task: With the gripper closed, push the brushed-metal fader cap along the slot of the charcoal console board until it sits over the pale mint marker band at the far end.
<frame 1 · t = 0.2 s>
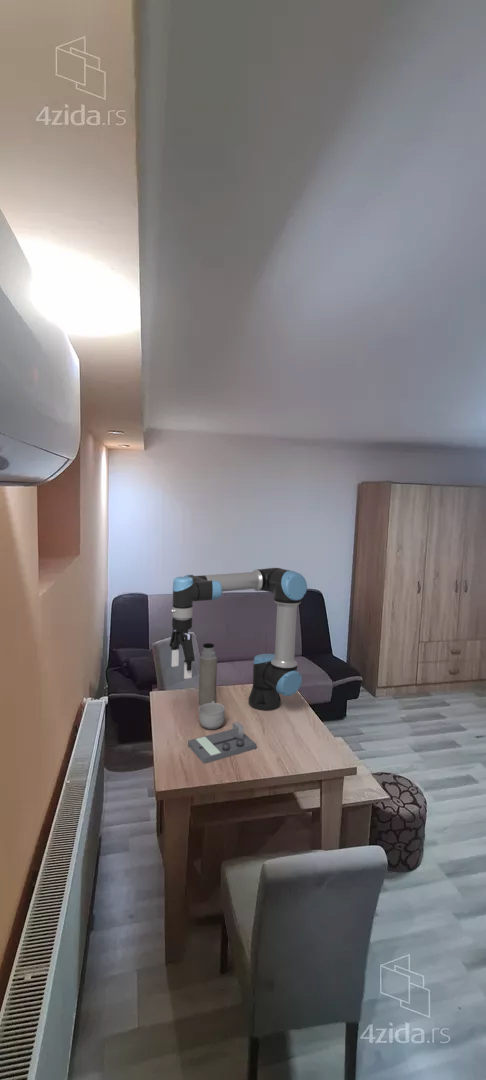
hand: (181, 672, 177), 28 cm above the table, tool pointing down, fingers open, 13 cm apart
fader cap: (238, 730, 180), point 5 cm above the table, slide at 0.0 cm
teacup: (212, 724, 194), on the table
thermos bottle: (207, 703, 214), on the table
console: (221, 747, 176), on the table
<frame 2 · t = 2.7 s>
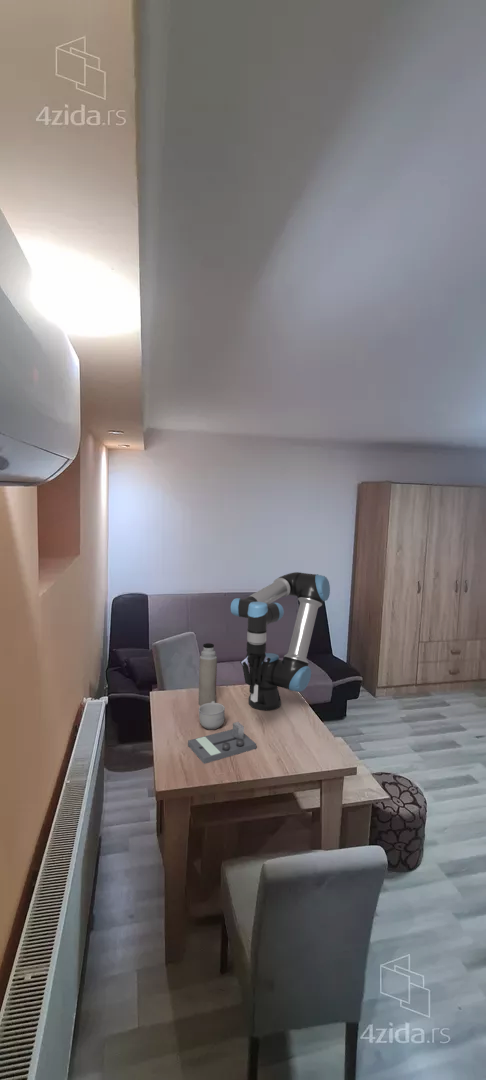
hand: (254, 700, 182), 16 cm above the table, tool pointing down, fingers closed
nothing on the table moved.
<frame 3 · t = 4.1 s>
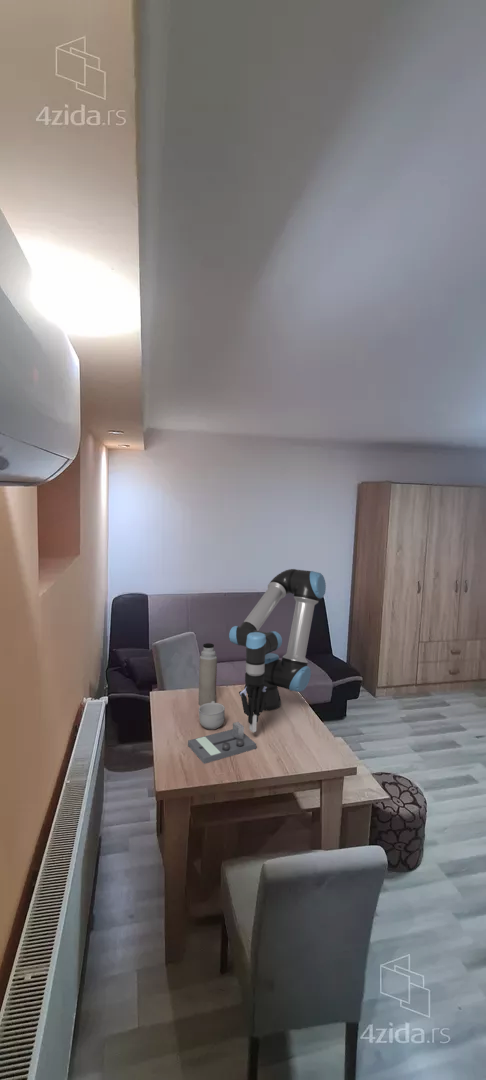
hand: (252, 730, 183), 3 cm above the table, tool pointing down, fingers closed
nothing on the table moved.
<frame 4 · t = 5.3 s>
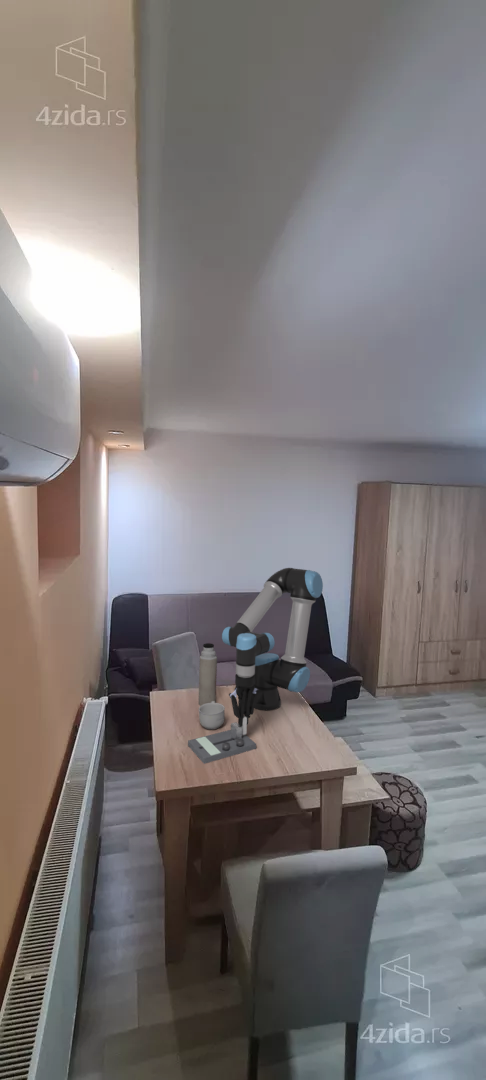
hand: (242, 732, 181), 4 cm above the table, tool pointing down, fingers closed
fader cap: (236, 731, 179), point 5 cm above the table, slide at 0.9 cm, touching gripper
everything else where it was.
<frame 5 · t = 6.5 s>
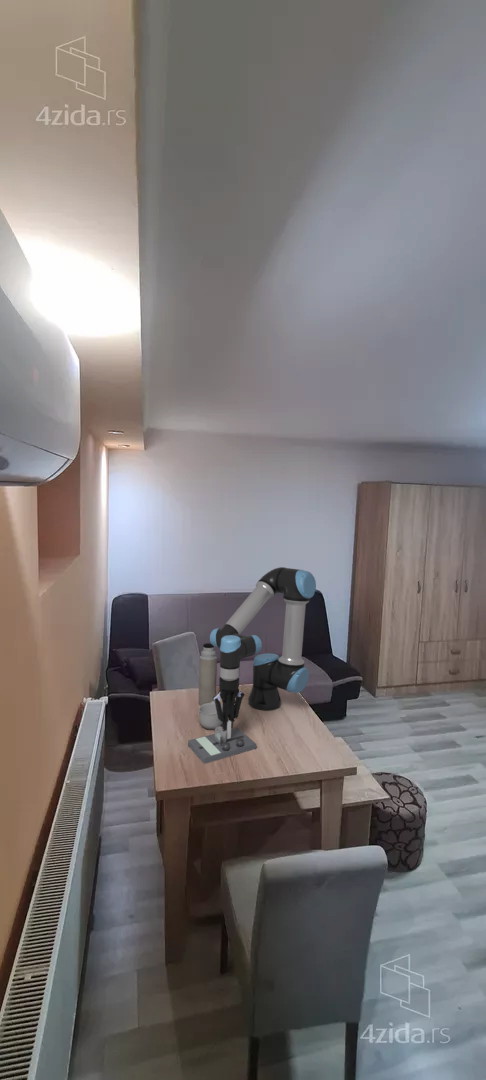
hand: (227, 736, 177), 4 cm above the table, tool pointing down, fingers closed
fader cap: (220, 735, 175), point 5 cm above the table, slide at 7.8 cm, touching gripper
everything else where it was.
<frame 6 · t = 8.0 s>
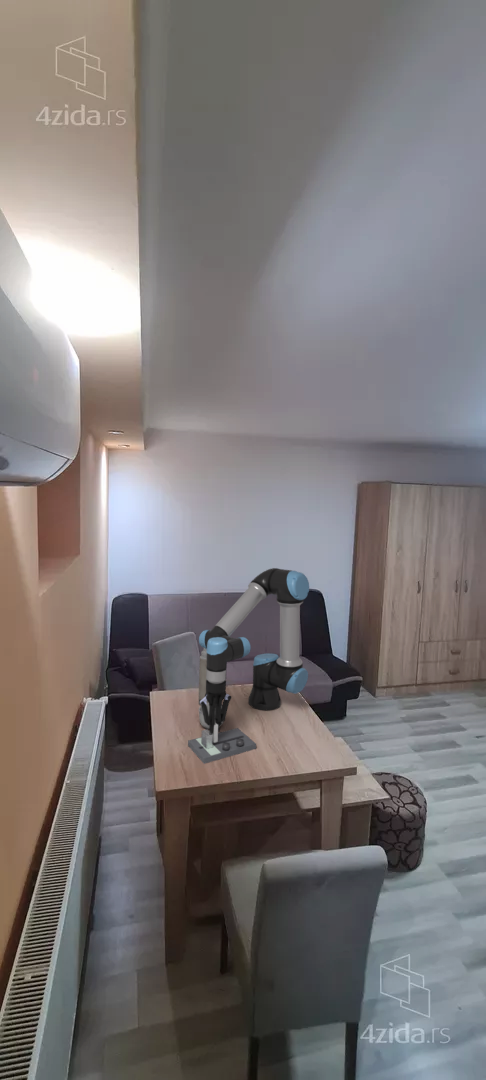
hand: (214, 740, 174), 3 cm above the table, tool pointing down, fingers closed
fader cap: (206, 738, 173), point 5 cm above the table, slide at 13.5 cm, touching gripper
everything else where it was.
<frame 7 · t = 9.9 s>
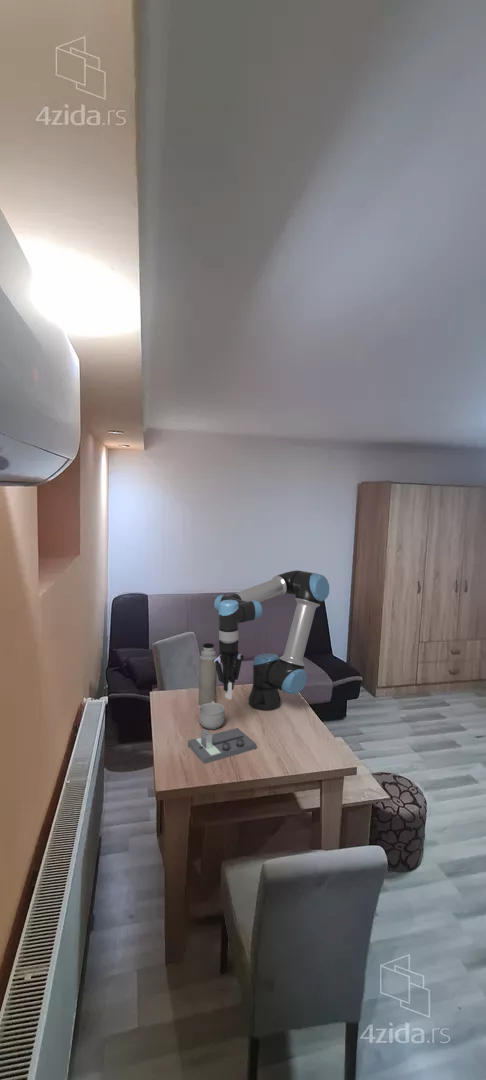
hand: (228, 697, 183), 16 cm above the table, tool pointing down, fingers closed
fader cap: (206, 738, 173), point 5 cm above the table, slide at 13.6 cm
everything else where it was.
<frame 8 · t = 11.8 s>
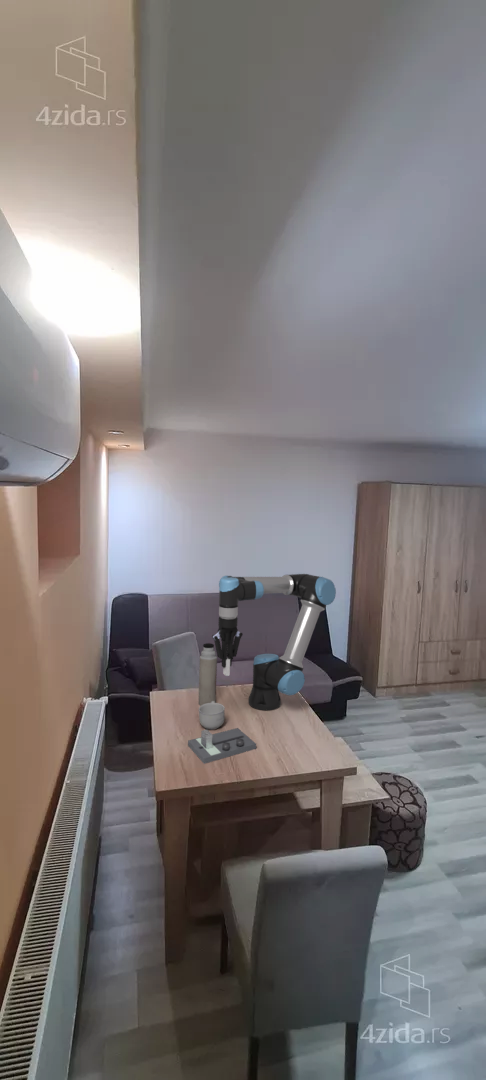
hand: (226, 674, 185), 24 cm above the table, tool pointing down, fingers closed
nothing on the table moved.
at the end: fader cap slide at 13.6 cm; the gripper is holding nothing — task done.
